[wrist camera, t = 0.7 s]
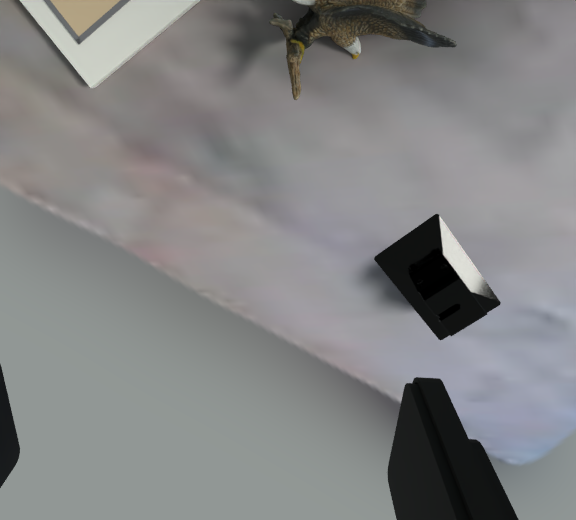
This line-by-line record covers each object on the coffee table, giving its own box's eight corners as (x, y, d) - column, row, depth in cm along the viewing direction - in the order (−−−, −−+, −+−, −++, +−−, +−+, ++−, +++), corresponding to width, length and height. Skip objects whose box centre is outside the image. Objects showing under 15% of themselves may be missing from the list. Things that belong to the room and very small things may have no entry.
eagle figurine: (313, 126, 30) (459, 75, 27) (272, 75, 23) (460, 0, 20) (290, 20, 31) (427, -40, 28) (244, -57, 24) (418, -145, 22)
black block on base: (352, 246, 35) (361, 273, 31) (436, 187, 33) (457, 207, 29) (439, 354, 39) (457, 390, 35) (519, 306, 37) (547, 339, 33)
